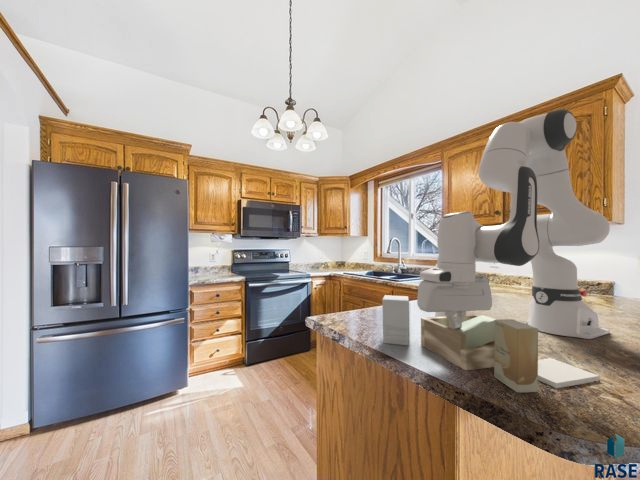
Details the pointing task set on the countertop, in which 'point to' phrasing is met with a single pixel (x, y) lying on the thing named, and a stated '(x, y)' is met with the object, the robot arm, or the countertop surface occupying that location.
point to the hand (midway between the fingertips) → (455, 328)
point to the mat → (563, 374)
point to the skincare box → (516, 355)
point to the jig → (455, 344)
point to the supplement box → (396, 320)
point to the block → (478, 331)
